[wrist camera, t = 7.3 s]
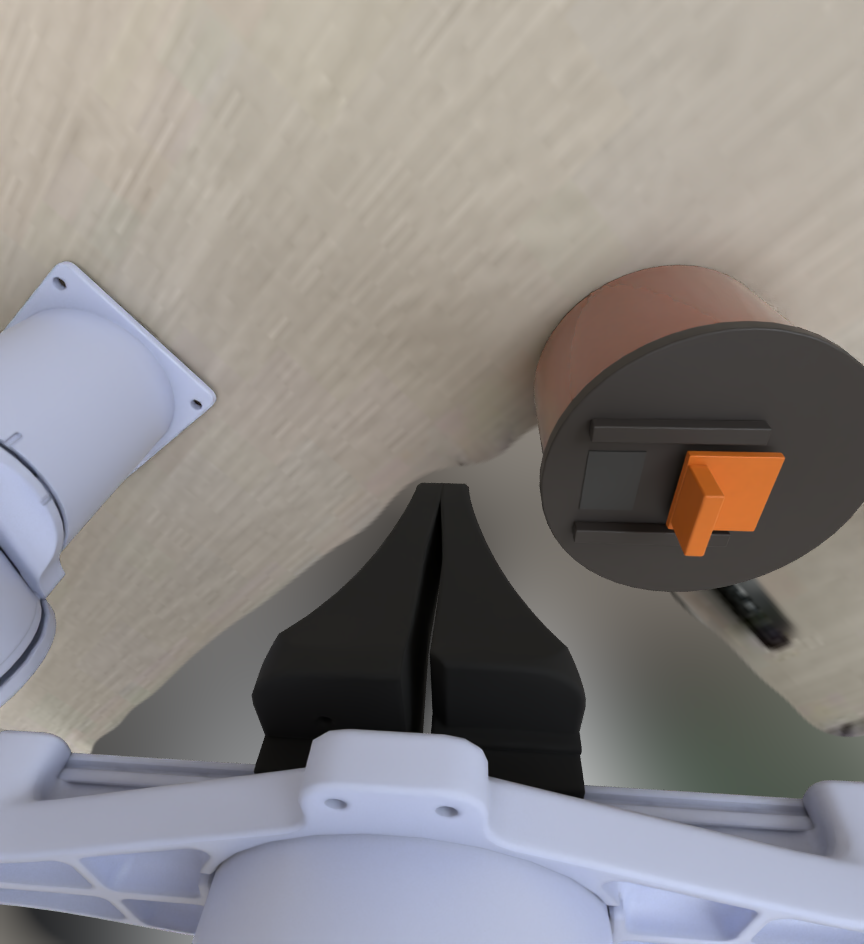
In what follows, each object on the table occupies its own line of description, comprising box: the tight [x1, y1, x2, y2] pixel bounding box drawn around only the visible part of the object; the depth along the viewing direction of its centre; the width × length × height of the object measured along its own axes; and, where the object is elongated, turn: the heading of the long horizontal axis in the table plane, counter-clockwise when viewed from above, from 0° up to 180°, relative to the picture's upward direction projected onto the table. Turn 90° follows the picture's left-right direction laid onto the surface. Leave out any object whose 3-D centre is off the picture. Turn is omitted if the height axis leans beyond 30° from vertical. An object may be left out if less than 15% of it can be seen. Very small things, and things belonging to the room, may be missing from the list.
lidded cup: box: [534, 265, 864, 592], centre depth 21 cm, size 11×11×8 cm
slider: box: [666, 451, 785, 556], centre depth 17 cm, size 3×3×2 cm
